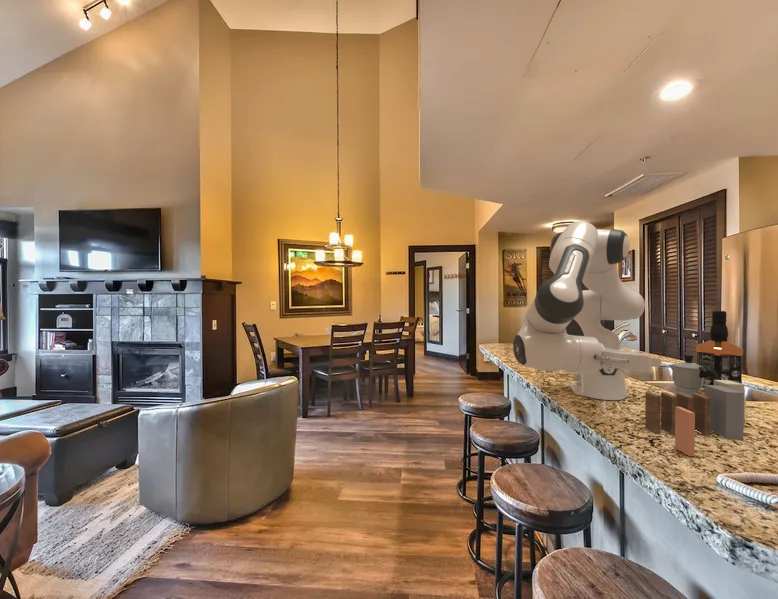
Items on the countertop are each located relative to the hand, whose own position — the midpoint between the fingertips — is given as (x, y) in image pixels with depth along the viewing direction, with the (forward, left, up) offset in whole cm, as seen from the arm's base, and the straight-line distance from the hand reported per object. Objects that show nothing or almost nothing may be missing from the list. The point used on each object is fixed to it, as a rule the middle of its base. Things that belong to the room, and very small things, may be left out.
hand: (645, 360), depth 88 cm
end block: (-16, +27, -21) cm, 38 cm away
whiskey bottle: (-47, +47, -22) cm, 70 cm away
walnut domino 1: (-16, +10, -21) cm, 28 cm away
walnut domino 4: (-16, +22, -21) cm, 35 cm away
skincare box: (-25, +35, -22) cm, 48 cm away
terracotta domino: (-1, +9, -21) cm, 23 cm away
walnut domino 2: (-16, +14, -21) cm, 30 cm away
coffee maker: (-36, +32, -22) cm, 53 cm away
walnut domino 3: (-16, +18, -21) cm, 32 cm away
